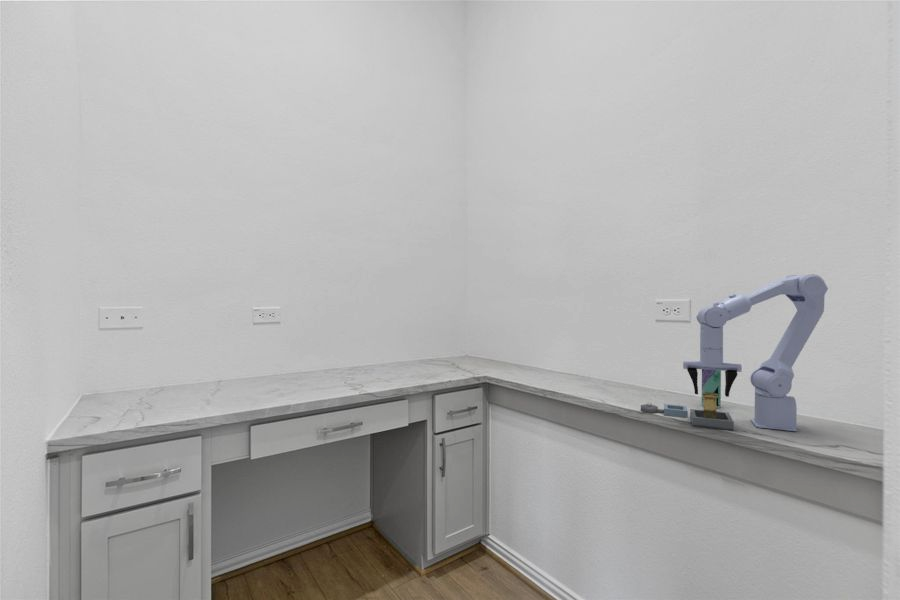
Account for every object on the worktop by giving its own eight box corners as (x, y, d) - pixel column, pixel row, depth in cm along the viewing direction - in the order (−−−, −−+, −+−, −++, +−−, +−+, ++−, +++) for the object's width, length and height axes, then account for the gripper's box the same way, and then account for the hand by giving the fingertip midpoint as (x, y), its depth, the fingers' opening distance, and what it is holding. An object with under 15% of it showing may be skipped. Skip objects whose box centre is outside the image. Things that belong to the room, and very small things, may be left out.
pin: (716, 419, 131) (716, 392, 131) (718, 423, 127) (719, 395, 127) (700, 418, 133) (701, 391, 132) (703, 422, 129) (703, 394, 129)
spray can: (703, 403, 152) (703, 345, 152) (721, 406, 149) (722, 346, 148) (700, 406, 148) (700, 346, 147) (719, 409, 144) (719, 348, 144)
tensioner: (686, 412, 141) (686, 404, 141) (687, 417, 136) (687, 409, 136) (641, 407, 147) (641, 400, 147) (640, 412, 141) (640, 404, 141)
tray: (728, 420, 132) (728, 412, 132) (733, 430, 123) (733, 421, 123) (690, 416, 136) (690, 408, 136) (692, 426, 127) (692, 417, 127)
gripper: (738, 347, 130) (738, 393, 130) (682, 345, 136) (682, 389, 136) (742, 350, 123) (742, 399, 124) (683, 348, 129) (683, 394, 130)
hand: (711, 394), depth 130 cm, fingers open, 7 cm apart
